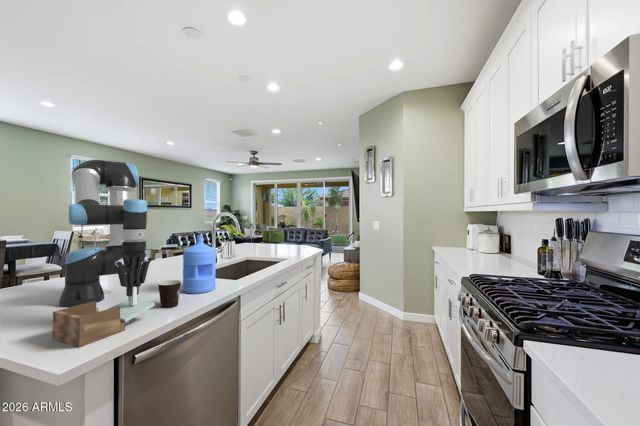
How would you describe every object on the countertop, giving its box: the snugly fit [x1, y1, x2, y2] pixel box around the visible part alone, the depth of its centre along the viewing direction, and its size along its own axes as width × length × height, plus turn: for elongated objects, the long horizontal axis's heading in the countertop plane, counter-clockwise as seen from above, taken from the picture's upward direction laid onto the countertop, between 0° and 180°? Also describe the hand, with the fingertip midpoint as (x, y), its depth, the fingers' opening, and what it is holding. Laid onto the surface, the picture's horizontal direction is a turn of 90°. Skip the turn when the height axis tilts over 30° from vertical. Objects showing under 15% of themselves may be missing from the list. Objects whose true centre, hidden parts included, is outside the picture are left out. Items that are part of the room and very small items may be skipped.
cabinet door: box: [108, 298, 156, 325], centre depth 101 cm, size 2×14×11 cm
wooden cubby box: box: [52, 301, 126, 348], centre depth 90 cm, size 14×13×8 cm
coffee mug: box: [157, 279, 182, 309], centre depth 119 cm, size 12×9×10 cm
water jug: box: [182, 235, 217, 295], centre depth 142 cm, size 16×16×28 cm
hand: (132, 304), depth 102 cm, fingers closed
